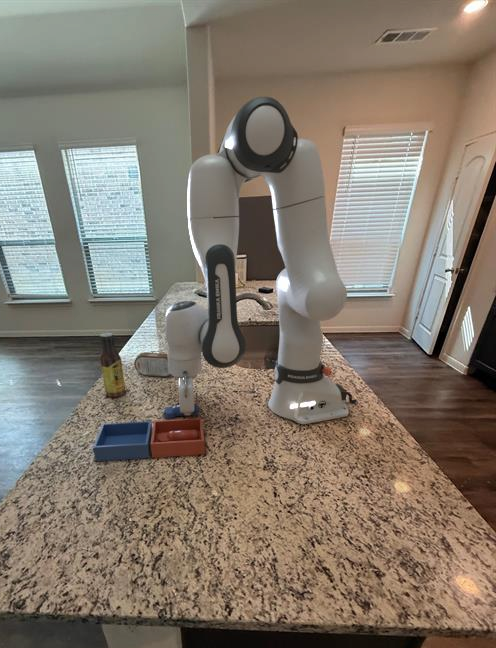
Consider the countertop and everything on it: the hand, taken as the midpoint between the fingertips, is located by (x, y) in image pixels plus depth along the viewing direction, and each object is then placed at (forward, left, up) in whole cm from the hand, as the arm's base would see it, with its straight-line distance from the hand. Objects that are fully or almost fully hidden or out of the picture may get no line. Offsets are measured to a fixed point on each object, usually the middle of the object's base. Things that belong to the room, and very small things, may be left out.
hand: (187, 409), depth 89 cm
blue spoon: (+2, 0, -2) cm, 3 cm away
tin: (+11, -27, -2) cm, 29 cm away
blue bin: (+16, +13, -2) cm, 20 cm away
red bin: (+3, +13, -2) cm, 13 cm away
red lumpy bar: (+3, +13, -1) cm, 13 cm away
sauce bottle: (+23, -15, -2) cm, 28 cm away
